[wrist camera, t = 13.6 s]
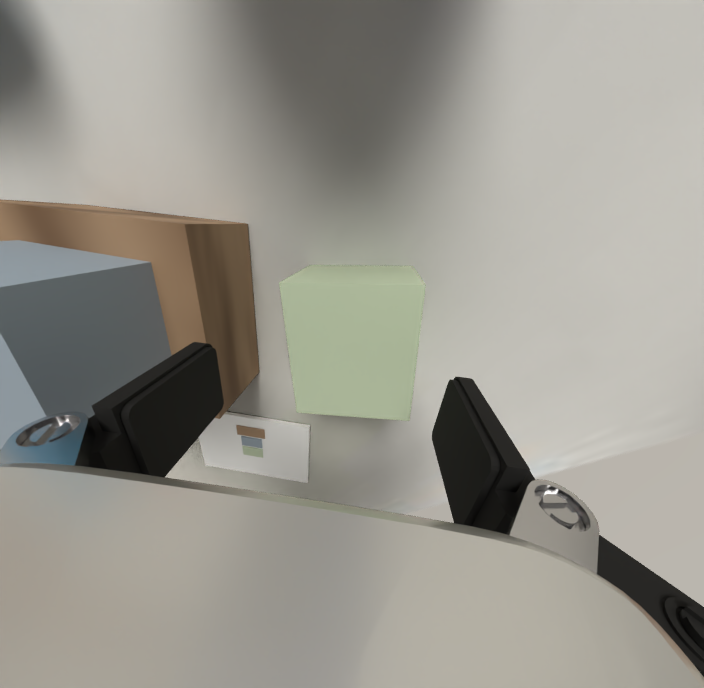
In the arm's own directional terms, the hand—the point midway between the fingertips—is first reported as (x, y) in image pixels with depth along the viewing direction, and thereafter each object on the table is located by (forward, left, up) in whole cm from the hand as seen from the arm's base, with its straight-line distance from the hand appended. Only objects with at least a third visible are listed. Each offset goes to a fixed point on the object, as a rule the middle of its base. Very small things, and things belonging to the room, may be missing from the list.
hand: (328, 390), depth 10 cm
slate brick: (+11, 0, -2) cm, 12 cm away
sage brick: (-1, 0, -7) cm, 7 cm away
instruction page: (+7, +13, -7) cm, 16 cm away
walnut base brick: (+11, 0, -7) cm, 13 cm away
